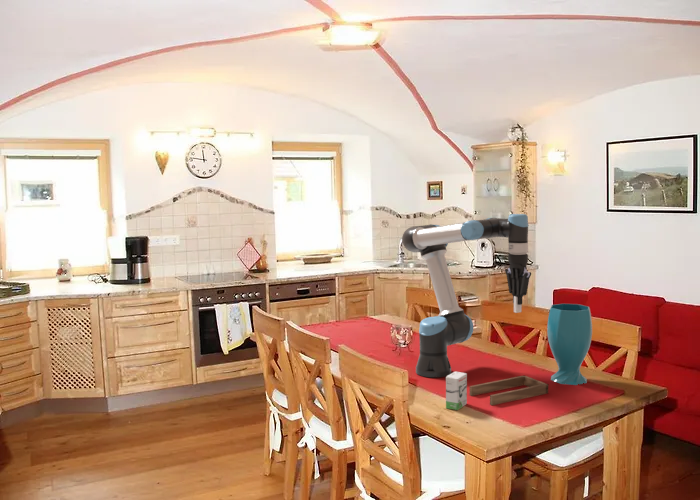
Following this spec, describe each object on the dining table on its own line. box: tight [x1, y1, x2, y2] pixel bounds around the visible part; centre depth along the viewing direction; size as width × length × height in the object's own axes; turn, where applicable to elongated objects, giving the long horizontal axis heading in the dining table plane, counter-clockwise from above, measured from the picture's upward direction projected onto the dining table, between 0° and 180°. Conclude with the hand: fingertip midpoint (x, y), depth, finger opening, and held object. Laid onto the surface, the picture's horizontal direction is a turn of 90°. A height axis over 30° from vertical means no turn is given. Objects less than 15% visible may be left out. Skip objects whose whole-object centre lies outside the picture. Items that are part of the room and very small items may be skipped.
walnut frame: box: [469, 375, 549, 406], centre depth 254 cm, size 13×27×4 cm, turn 117°
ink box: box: [445, 371, 468, 411], centre depth 242 cm, size 9×5×12 cm, turn 146°
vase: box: [546, 303, 593, 386], centre depth 269 cm, size 17×17×30 cm
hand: (517, 312), depth 263 cm, fingers closed
